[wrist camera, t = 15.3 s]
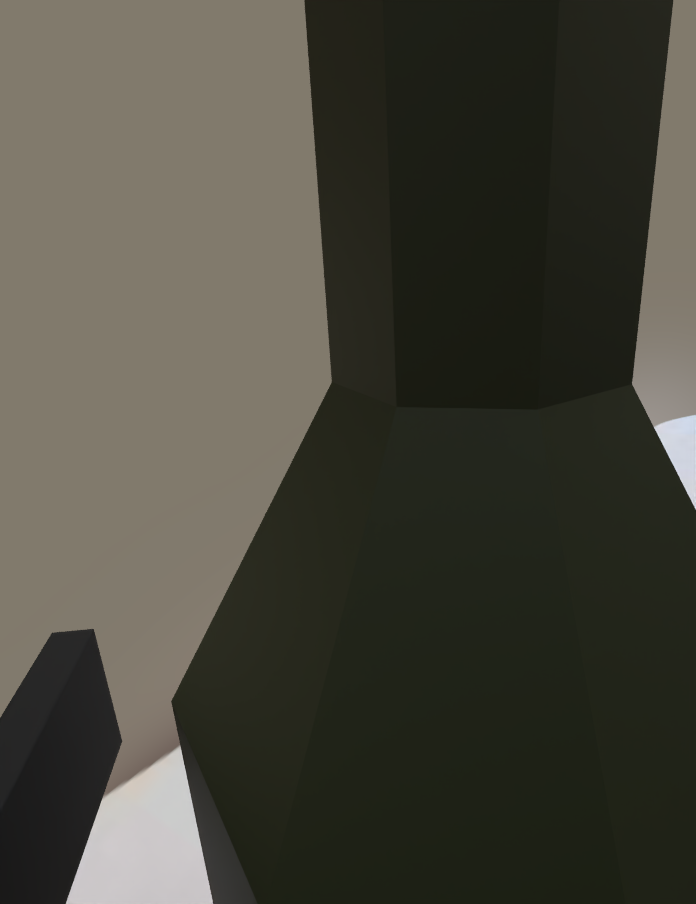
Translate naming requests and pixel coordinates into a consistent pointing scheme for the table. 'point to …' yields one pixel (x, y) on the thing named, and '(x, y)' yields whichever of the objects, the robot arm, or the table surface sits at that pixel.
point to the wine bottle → (466, 494)
